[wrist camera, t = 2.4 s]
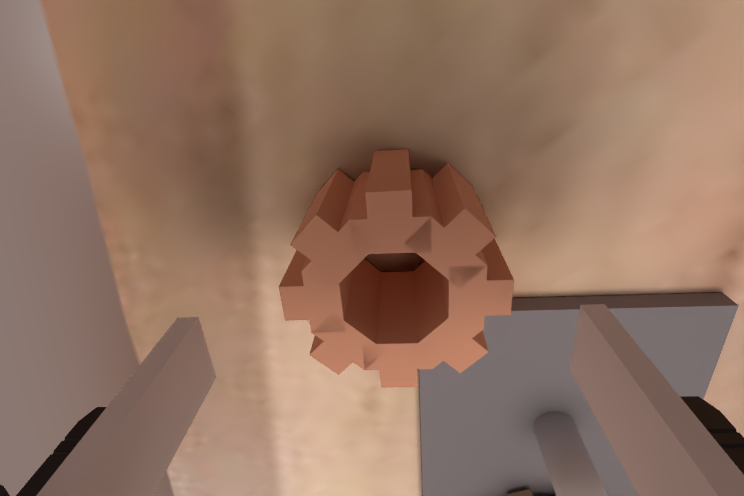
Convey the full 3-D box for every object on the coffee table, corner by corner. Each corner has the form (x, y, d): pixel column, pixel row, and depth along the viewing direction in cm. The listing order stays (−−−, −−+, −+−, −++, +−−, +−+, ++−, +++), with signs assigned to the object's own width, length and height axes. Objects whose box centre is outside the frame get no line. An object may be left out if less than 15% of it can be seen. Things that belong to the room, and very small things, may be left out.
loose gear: (297, 155, 20) (261, 197, 15) (488, 144, 19) (522, 184, 14) (321, 310, 24) (298, 388, 19) (480, 306, 23) (504, 386, 18)
